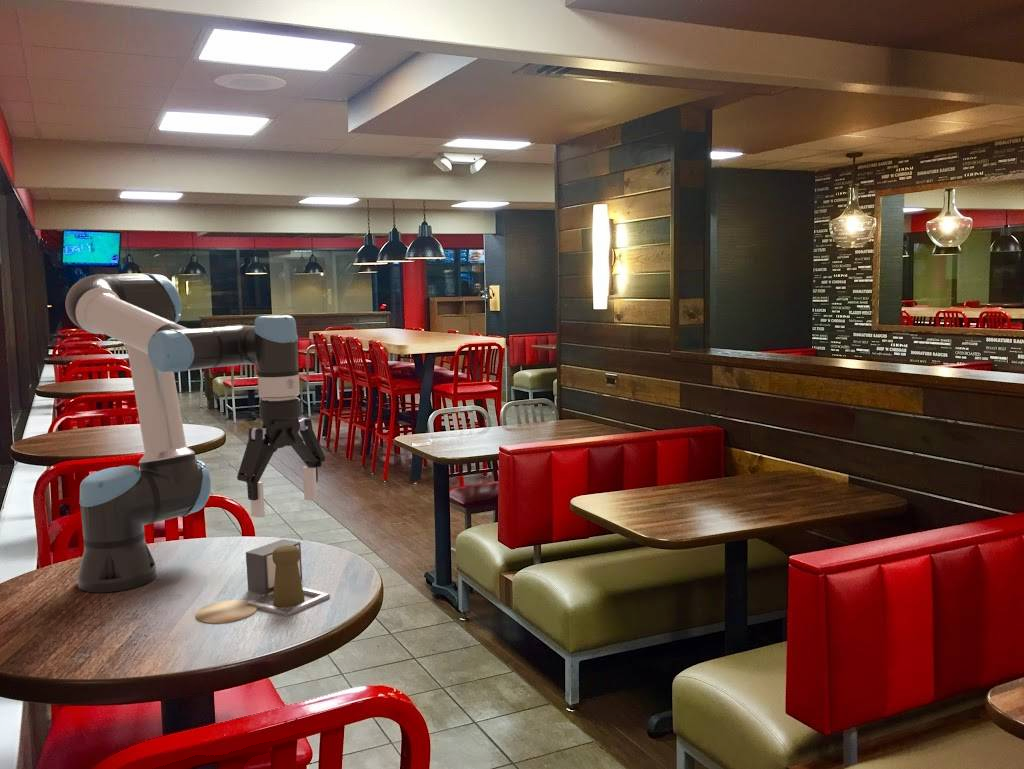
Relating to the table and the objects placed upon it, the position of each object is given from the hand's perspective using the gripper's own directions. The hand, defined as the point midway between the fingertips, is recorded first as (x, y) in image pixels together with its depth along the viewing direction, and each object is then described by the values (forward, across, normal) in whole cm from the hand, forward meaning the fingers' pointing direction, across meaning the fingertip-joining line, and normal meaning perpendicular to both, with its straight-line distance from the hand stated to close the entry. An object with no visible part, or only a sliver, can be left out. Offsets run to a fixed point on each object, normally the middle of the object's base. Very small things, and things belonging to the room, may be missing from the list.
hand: (285, 508), depth 169 cm
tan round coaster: (+19, -10, +7) cm, 22 cm away
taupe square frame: (+18, 0, 0) cm, 19 cm away
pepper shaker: (+19, 0, 0) cm, 19 cm away
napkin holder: (+19, +5, +10) cm, 22 cm away
